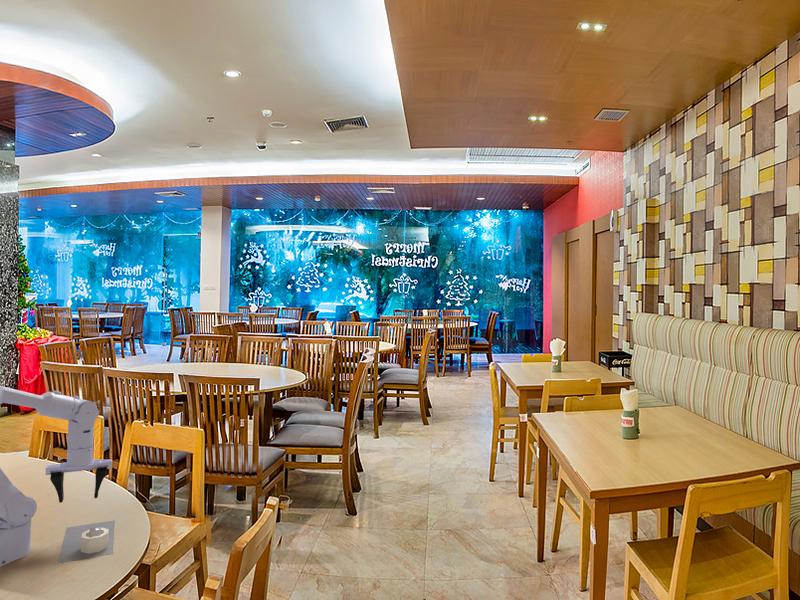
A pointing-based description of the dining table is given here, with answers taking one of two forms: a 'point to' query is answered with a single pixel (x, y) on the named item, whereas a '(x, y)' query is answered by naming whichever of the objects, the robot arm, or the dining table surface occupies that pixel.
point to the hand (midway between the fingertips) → (78, 498)
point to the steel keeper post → (95, 531)
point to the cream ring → (94, 542)
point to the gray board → (73, 542)
